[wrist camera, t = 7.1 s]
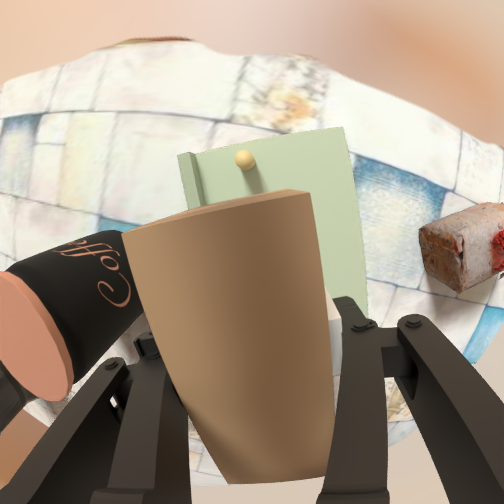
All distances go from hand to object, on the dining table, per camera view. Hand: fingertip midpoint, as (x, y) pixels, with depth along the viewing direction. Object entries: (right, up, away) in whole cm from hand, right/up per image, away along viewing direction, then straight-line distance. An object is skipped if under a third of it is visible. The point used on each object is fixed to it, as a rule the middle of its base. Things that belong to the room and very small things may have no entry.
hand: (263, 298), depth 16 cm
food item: (+25, +5, +11) cm, 28 cm away
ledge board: (+3, +3, +12) cm, 13 cm away
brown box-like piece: (0, 0, 0) cm, 0 cm away
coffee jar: (-17, 0, +15) cm, 22 cm away
